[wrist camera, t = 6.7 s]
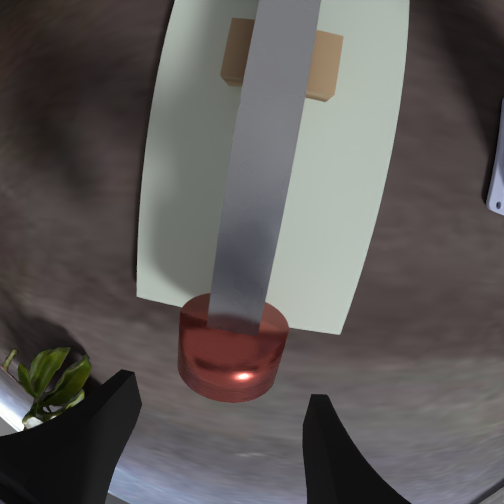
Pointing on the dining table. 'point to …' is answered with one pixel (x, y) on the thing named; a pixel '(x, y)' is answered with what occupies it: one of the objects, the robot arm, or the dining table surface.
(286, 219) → the board
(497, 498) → the plate stack
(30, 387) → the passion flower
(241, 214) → the rod
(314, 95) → the brown rectangular block
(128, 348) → the dining table surface
